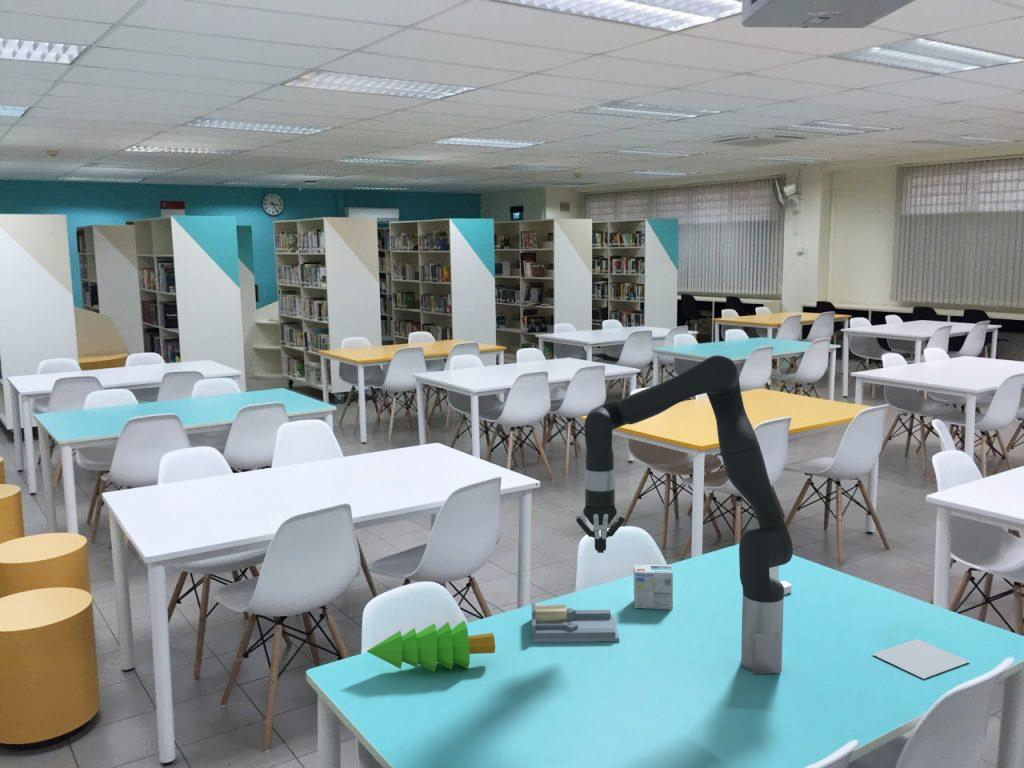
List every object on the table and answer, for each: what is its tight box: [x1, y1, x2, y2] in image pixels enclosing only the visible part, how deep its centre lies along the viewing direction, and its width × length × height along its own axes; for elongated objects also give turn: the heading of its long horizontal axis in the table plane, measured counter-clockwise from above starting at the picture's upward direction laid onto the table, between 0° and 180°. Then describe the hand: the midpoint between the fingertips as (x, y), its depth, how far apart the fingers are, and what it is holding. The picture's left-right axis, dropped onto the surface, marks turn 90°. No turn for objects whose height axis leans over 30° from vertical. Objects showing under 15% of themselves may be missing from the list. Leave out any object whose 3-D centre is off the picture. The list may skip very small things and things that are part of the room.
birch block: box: [535, 604, 567, 622], centre depth 217 cm, size 4×8×5 cm, turn 89°
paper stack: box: [872, 638, 970, 680], centre depth 205 cm, size 23×25×1 cm
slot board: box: [531, 602, 620, 643], centre depth 217 cm, size 14×22×4 cm, turn 89°
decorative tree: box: [366, 620, 496, 673], centre depth 197 cm, size 11×12×30 cm
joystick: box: [769, 566, 792, 595], centre depth 240 cm, size 11×8×20 cm
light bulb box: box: [633, 563, 674, 610], centre depth 232 cm, size 11×7×11 cm, turn 84°
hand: (600, 551), depth 214 cm, fingers closed
